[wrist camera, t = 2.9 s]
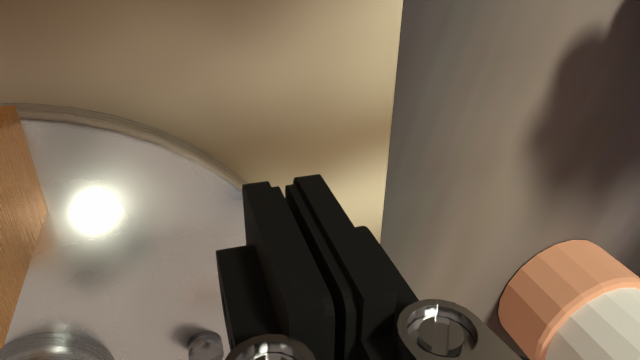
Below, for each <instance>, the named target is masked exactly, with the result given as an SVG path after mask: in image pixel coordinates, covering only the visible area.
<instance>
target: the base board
mask: <svg viewBox="0 0 640 360" xmlns="http://www.w3.org/2000/svg"><path fill="white" fill-rule="evenodd" d="M402 6H403V0H0V103H32V104H44V105H56V106H68V107H75V108H80V109H86V110H91V111H96V112H101V113H106V114H111V115H116V116H120V117H123V118H126V119H129V120H132V121H136V122H139V123H142V124H145V125H148V126H152V127H155V128H158V129H160V130H162V131H164V132H167V133H169V134H171V135H173V136H176V137H178V138H180V139H182V140H185V141H187V142H189V143H191V144H193V145H195V146H197V147H198V148H200V149H202V150H203V151H205V152H207V153H208V154H210V155H212V156H213V157H215V158H216V159H218V160H220V161H221V162H223V163H224V164H226V165H227V166H228V167H229V168H231V169H232V170H233V171H234V172H236V173H237V174H238V175H239V176H241V177H242V178H243V179H244V180H246V181H247V182H248V183H257V182H264V181H269V183H270V185H271V187H276V186H279V187H280V189H281V191H282V193H283V195H284V197H285V186H286V185H291V184H293V180H294V178H295V177H301V176H308V175H316V174H320V175H321V176H322V178H323V179H324V181H325V182H326V184H327V185H328V187H329V188H330V190H331V191H332V193H333V194H334V196H335V198H336V199H337V201H338V202H339V204H340V205H341V207H342V208H343V210H344V211H345V213H346V214H347V216H348V217H349V219H350V221H351V222H352V224H353V225H354V227H358V226H366V227H367V228H368V229H369V230H370V231H371V232H372V234H373V235H374V237H375V238H376V240H377V241H378V242H379V244H380V236H381V225H382V215H383V204H384V194H385V184H386V173H387V163H388V152H389V142H390V131H391V121H392V110H393V100H394V90H395V79H396V69H397V58H398V48H399V37H400V27H401V16H402Z"/></svg>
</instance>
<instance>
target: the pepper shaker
mask: <svg viewBox="0 0 640 360" xmlns="http://www.w3.org/2000/svg"><path fill="white" fill-rule="evenodd" d="M498 315H499V319H500V323H501V325H502V326H503V328H504V329H505V330H506V331H507V332H508V334H509V335H510V336H511V337H512V338H513V340H514V341H515V342H516V343H517V345H518V346H519V347H520V348H521V349H522V351H523V352H524V353H525V354H526V355H527V357H528V358H529V359H530V360H640V278H639V277H638V276H637V275H635V274H634V273H633V272H631V271H630V270H629V269H628V268H626V267H625V266H624V265H622V264H621V263H620V262H618V261H617V260H616V259H615V258H613V257H612V256H611V255H609V254H608V253H607V252H606V251H604V250H603V249H602V248H600V247H599V246H598V245H596V244H594V243H592V242H590V241H588V240H570V241H566V242H563V243H559V244H556V245H553V246H552V247H550V248H548V249H546V250H544V251H542V252H540V253H539V254H537V255H536V256H534V257H533V258H532V259H531V260H530V261H528V262H527V263H526V264H525V265H524V266H522V267H521V268H520V269H519V271H518V272H517V273H516V274H515V275H514V277H513V278H512V279H511V280H510V281H509V283H508V284H507V286H506V288H505V290H504V292H503V294H502V296H501V298H500V303H499V309H498Z"/></svg>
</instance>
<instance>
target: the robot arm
mask: <svg viewBox="0 0 640 360" xmlns="http://www.w3.org/2000/svg"><path fill="white" fill-rule="evenodd" d="M242 196H243V209H244V222H245V235H246V245H245V246H239V247H233V248H227V249H221V250H216V261H217V270H218V278H219V287H220V294H221V301H222V307H223V314H224V320H225V325H226V331H227V336H228V341H229V347H230V352H229V354H228V355H227V357H226V358H225V360H529V359H526V358H523V357H521V356H518V355H517V354H516V353H515V352H514V351H513V350H512V349H511V348H509V347H508V346H507V345H506V344H505V343H504V342H503V341H502V340H501V339H500V338H499V337H498V336H497V335H496V334H495V333H494V332H493V331H492V330H491V329H490V328H489V327H487V326H486V325H485V324H484V323H483V322H482V321H481V320H480V319H479V318H478V317H477V316H476V315H474V314H473V313H472V312H470V311H469V310H468V309H466V308H464V307H462V306H460V305H458V304H456V303H453V302H449V301H445V300H439V299H426V300H422V301H419V300H418V299H417V297H416V296H415V294H414V293H413V291H412V290H411V289H410V287H409V286H408V284H407V283H406V281H405V280H404V278H403V277H402V276H401V274H400V273H399V271H398V270H397V268H396V267H395V265H394V264H393V263H392V261H391V260H390V258H389V257H388V255H387V254H386V253H385V251H384V250H383V248H382V247H381V245H380V244H379V242H378V241H377V240H376V238H375V237H374V235H373V234H372V232H371V231H370V230H369V229H368V228H367V227H366V226H358V227H354V225H353V224H352V222H351V221H350V219H349V217H348V216H347V214H346V213H345V211H344V210H343V208H342V207H341V205H340V204H339V202H338V201H337V199H336V198H335V196H334V194H333V193H332V191H331V190H330V188H329V187H328V185H327V184H326V182H325V181H324V179H323V178H322V176H321V175H320V174H316V175H308V176H301V177H295V178H294V180H293V184H291V185H286V186H285V197H284V195H283V193H282V191H281V189H280V187H279V186H276V187H271V185H270V183H269V181H264V182H257V183H249V184H243V185H242Z"/></svg>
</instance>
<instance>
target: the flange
mask: <svg viewBox="0 0 640 360" xmlns="http://www.w3.org/2000/svg"><path fill="white" fill-rule="evenodd" d="M243 184H249V183H248V182H247V181H246V180H244V179H243V178H242V177H241V176H239V175H238V174H237V173H236V172H234V171H233V170H232V169H231V168H229V167H228V166H227V165H226V164H224V163H223V162H221V161H220V160H218V159H216V158H215V157H213V156H212V155H210V154H208V153H207V152H205V151H203V150H202V149H200V148H198V147H197V146H195V145H193V144H191V143H189V142H187V141H185V140H182V139H180V138H178V137H176V136H173V135H171V134H169V133H167V132H164V131H162V130H160V129H158V128H155V127H152V126H148V125H145V124H142V123H139V122H136V121H132V120H129V119H126V118H123V117H120V116H116V115H111V114H106V113H101V112H96V111H91V110H86V109H80V108H75V107H68V106H56V105H44V104H32V103H0V360H225V358H226V357H227V355H228V354H229V352H230V347H229V341H228V336H227V331H226V325H225V320H224V314H223V307H222V301H221V294H220V287H219V278H218V270H217V261H216V250H221V249H227V248H233V247H239V246H245V245H246V235H245V222H244V209H243V196H242V185H243Z"/></svg>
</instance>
